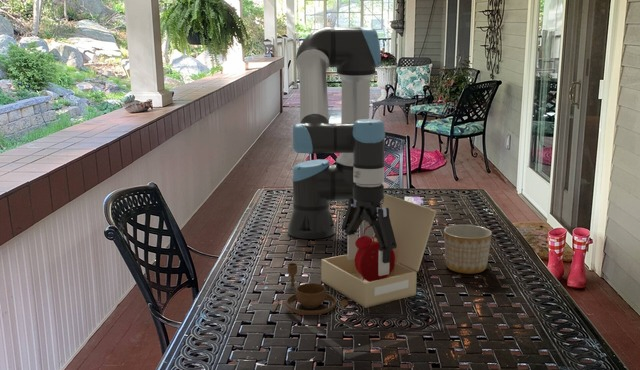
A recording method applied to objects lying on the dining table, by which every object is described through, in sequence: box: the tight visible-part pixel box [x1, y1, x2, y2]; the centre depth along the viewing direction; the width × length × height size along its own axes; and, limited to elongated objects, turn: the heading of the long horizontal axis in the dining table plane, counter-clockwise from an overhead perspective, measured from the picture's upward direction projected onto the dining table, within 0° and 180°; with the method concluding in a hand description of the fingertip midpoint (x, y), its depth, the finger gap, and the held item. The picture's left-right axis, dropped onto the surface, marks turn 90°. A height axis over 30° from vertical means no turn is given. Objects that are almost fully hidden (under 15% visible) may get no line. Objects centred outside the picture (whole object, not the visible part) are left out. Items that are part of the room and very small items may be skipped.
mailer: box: [320, 254, 418, 309], centre depth 161 cm, size 20×15×6 cm
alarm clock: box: [355, 225, 396, 282], centre depth 161 cm, size 10×6×15 cm, turn 119°
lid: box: [371, 193, 437, 272], centre depth 164 cm, size 20×15×2 cm
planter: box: [443, 224, 493, 275], centre depth 175 cm, size 13×13×10 cm
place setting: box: [272, 262, 349, 316], centre depth 155 cm, size 18×20×6 cm
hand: (367, 266), depth 160 cm, fingers open, 13 cm apart
